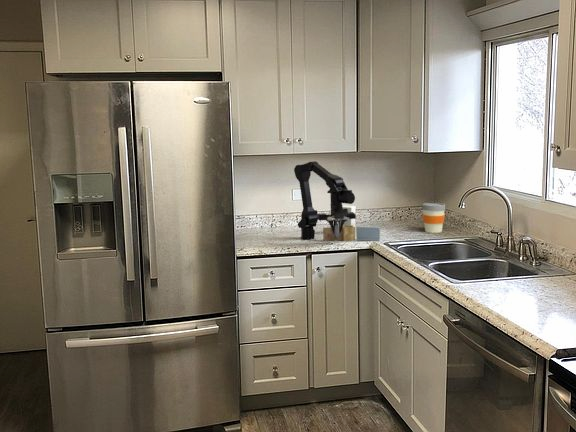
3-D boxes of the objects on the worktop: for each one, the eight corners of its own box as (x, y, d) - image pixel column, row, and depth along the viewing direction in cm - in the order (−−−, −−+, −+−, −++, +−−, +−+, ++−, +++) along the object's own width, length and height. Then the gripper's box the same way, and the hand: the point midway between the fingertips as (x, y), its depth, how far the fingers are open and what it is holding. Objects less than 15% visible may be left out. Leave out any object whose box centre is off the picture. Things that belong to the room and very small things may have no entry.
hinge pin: (333, 238, 311) (333, 219, 310) (332, 237, 315) (332, 218, 313) (341, 238, 312) (341, 219, 310) (339, 237, 315) (339, 218, 314)
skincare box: (337, 234, 339) (336, 206, 336) (342, 232, 345) (341, 205, 342) (351, 235, 335) (351, 207, 333) (356, 233, 341) (355, 205, 338)
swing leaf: (356, 239, 322) (356, 227, 321) (356, 239, 323) (356, 226, 322) (379, 240, 318) (379, 227, 317) (379, 240, 319) (379, 227, 318)
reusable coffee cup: (440, 233, 333) (440, 206, 331) (418, 232, 340) (418, 205, 338) (448, 230, 344) (448, 203, 341) (426, 228, 351) (427, 202, 348)
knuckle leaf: (324, 242, 319) (324, 228, 318) (322, 239, 325) (322, 226, 324) (355, 240, 321) (354, 227, 320) (352, 238, 327) (352, 225, 326)
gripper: (320, 205, 301) (321, 236, 304) (358, 203, 304) (358, 234, 306) (316, 202, 312) (317, 232, 315) (352, 200, 315) (353, 231, 317)
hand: (336, 233), depth 313 cm, fingers closed on hinge pin, 3 cm apart
